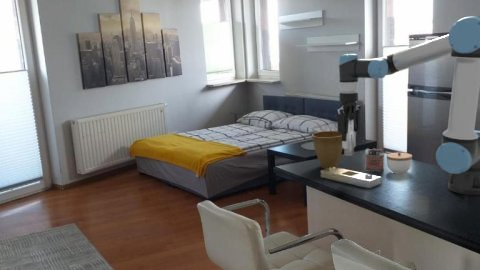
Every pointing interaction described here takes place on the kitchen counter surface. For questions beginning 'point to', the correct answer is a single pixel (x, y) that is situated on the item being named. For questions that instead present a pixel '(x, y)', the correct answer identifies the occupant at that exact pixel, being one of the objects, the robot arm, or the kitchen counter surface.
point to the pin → (350, 138)
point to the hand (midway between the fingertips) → (348, 147)
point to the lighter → (374, 160)
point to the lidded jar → (399, 162)
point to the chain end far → (337, 173)
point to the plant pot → (328, 147)
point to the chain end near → (363, 180)
